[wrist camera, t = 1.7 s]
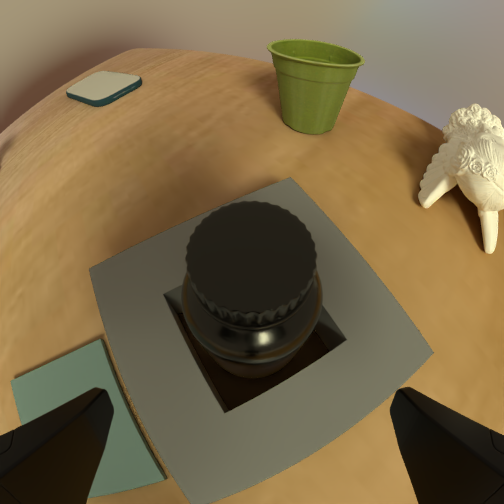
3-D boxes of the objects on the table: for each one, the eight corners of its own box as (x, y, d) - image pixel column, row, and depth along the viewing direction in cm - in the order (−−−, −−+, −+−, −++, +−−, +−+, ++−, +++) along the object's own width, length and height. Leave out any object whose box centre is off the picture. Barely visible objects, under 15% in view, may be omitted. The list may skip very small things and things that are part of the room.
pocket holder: (406, 364, 18) (433, 352, 15) (205, 491, 13) (194, 508, 10) (286, 207, 27) (290, 177, 23) (110, 291, 22) (88, 268, 18)
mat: (167, 478, 14) (164, 479, 13) (58, 500, 11) (54, 501, 10) (103, 340, 19) (100, 338, 19) (14, 382, 16) (10, 380, 16)
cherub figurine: (525, 140, 22) (557, 199, 12) (490, 195, 32) (491, 273, 22) (459, 89, 26) (460, 111, 16) (431, 150, 36) (408, 207, 26)
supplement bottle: (205, 296, 22) (168, 185, 12) (291, 290, 22) (323, 177, 12) (207, 383, 18) (151, 346, 8) (303, 375, 18) (366, 329, 8)
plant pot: (326, 102, 39) (336, 40, 30) (363, 143, 33) (383, 70, 23) (255, 105, 38) (255, 38, 28) (279, 150, 31) (286, 63, 22)
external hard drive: (64, 97, 48) (62, 91, 47) (101, 76, 53) (99, 70, 51) (101, 111, 41) (98, 103, 39) (148, 84, 45) (147, 76, 44)
